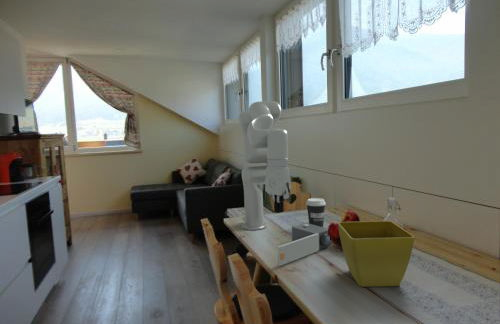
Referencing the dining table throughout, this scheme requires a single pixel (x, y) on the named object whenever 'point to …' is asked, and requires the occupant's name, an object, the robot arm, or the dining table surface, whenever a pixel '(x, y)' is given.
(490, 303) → the dining table surface
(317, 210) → the coffee cup
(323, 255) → the dining table surface
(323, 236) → the camera body
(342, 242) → the flower pot
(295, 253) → the side door
